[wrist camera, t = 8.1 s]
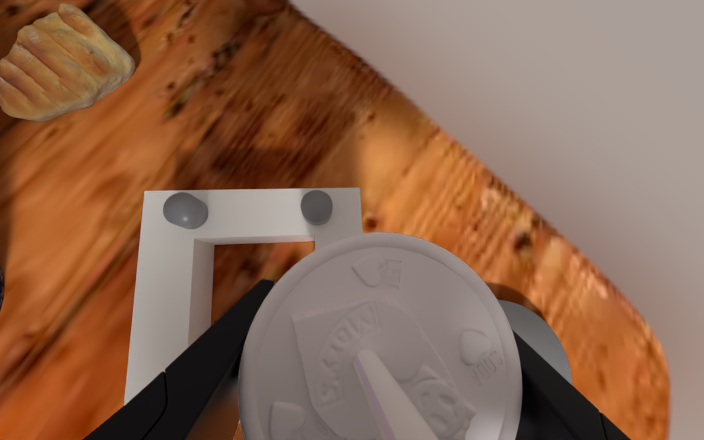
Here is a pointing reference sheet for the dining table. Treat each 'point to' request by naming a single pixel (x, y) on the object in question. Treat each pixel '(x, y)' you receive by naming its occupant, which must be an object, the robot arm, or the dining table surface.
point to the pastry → (61, 66)
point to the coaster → (537, 336)
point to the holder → (198, 257)
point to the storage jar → (1, 288)
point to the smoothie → (380, 349)
